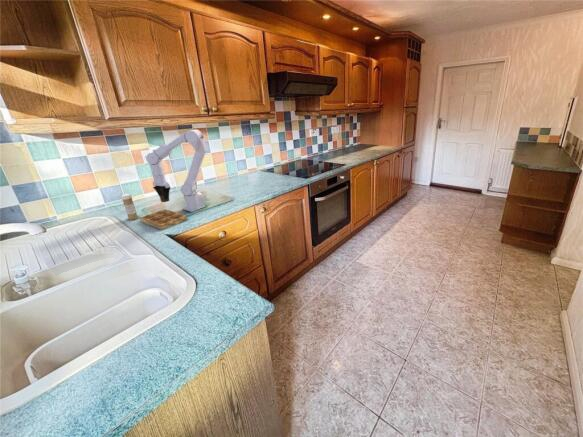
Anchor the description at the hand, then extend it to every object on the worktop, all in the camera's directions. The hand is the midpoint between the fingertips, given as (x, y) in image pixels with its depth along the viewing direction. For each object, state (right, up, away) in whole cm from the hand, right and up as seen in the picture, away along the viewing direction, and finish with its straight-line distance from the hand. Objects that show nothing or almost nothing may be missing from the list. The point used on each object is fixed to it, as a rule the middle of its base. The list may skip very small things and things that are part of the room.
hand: (164, 198), depth 146 cm
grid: (+6, -13, -12) cm, 18 cm away
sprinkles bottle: (-14, -12, -6) cm, 19 cm away
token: (0, -1, +1) cm, 1 cm away
